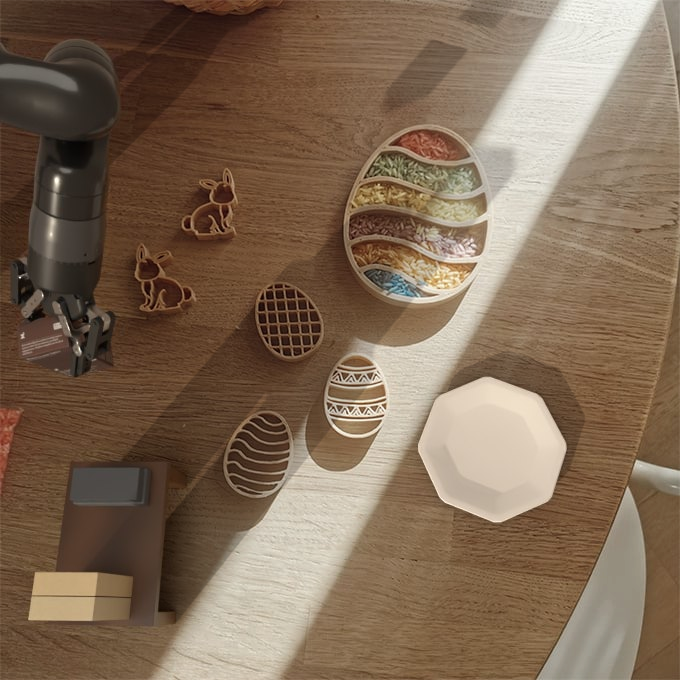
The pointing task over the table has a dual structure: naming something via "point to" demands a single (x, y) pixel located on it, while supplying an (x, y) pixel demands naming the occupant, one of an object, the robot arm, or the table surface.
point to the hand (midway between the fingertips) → (56, 356)
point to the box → (53, 346)
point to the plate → (492, 449)
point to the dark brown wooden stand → (121, 542)
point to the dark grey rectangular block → (110, 486)
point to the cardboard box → (80, 596)
